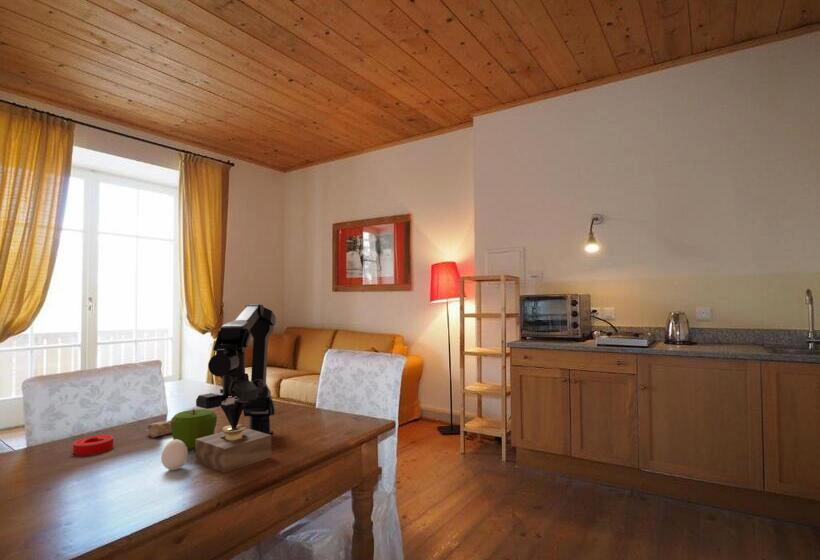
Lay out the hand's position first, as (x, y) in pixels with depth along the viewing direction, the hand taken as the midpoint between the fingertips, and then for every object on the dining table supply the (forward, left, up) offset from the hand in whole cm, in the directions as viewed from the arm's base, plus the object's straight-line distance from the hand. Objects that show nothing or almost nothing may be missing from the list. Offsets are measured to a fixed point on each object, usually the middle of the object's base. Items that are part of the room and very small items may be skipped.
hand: (233, 427), depth 123 cm
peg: (0, 0, -7) cm, 7 cm away
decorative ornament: (-42, -19, -9) cm, 47 cm away
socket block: (0, 0, -8) cm, 9 cm away
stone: (-41, +1, -9) cm, 42 cm away
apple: (-19, -1, -9) cm, 21 cm away
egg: (-6, -13, -9) cm, 17 cm away
